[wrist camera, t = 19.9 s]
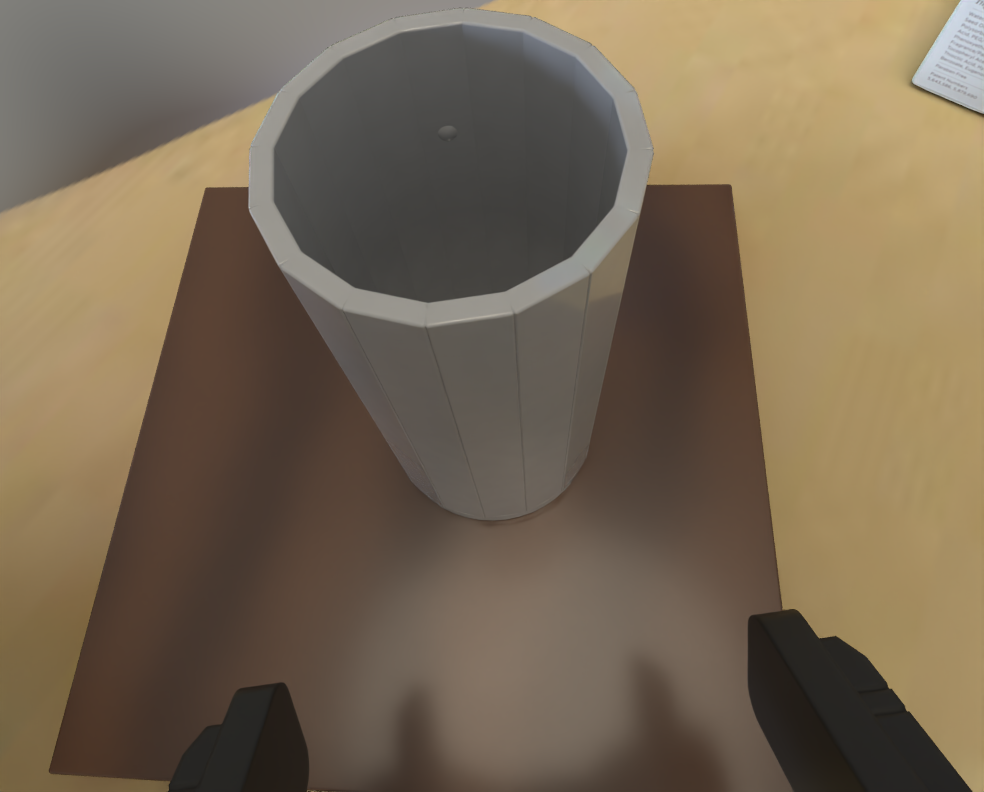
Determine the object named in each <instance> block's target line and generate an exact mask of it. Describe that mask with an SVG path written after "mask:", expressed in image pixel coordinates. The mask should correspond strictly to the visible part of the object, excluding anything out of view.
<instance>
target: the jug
mask: <svg viewBox="0 0 984 792" xmlns="http://www.w3.org/2000/svg"><path fill="white" fill-rule="evenodd" d="M653 149H654V148H653V145H652V141H651V138H650V134H649V131H648V128H647V124H646V121H645V118H644V114H643V111H642V108H641V104H640V101H639V97H638V94H637V92H636V91H635V88H634V87H633V86H632V85H631V84H630V83H629V82H628V81H627V80H626V79H625V78H624V77H623V76H622V75H621V74H620V72H619V71H618V70H617V69H616V68H615V67H614V66H613V65H612V64H611V63H610V62H609V61H608V60H607V59H606V58H605V57H604V55H603V54H602V53H601V52H600V51H599V50H598V49H597V48H596V47H595V46H592V44H591V43H589V42H587V41H585V40H583V39H580V38H578V37H576V36H574V35H572V34H570V33H568V32H565V31H563V30H561V29H559V28H557V27H555V26H553V25H550V24H548V23H546V22H544V21H542V20H540V19H538V18H536V17H533V18H532V17H531V16H527V15H519V14H511V13H504V12H496V11H488V10H480V9H473V8H464V9H463V8H457V9H449V10H442V11H435V12H429V13H422V14H415V15H408V16H401V17H396V18H394V19H389V20H387V21H385V22H382V23H380V24H378V25H376V26H373V27H371V28H369V29H367V30H364V31H363V32H360V33H358V34H355V35H354V36H351V37H349V38H347V39H344V40H342V41H340V42H337V43H335V44H333V45H331V47H328V48H327V49H325V50H324V51H323V52H322V53H321V54H320V55H319V56H318V57H316V58H315V59H314V60H313V61H312V62H311V63H310V64H308V66H306V67H305V68H304V69H303V70H302V71H300V72H299V73H298V74H297V75H296V76H295V77H294V78H293V79H291V80H290V81H289V82H288V83H287V84H286V85H285V86H283V87H282V88H281V90H280V92H278V93H277V95H276V97H275V99H274V101H273V103H272V105H271V107H270V109H269V111H268V113H267V114H266V116H265V118H264V120H263V122H262V124H261V126H260V128H259V130H258V132H257V134H256V136H255V137H254V139H253V141H252V143H251V148H250V156H249V201H248V208H249V212H250V214H251V216H252V218H253V220H254V222H255V224H256V226H257V227H258V229H259V231H260V233H261V235H262V237H263V239H264V241H265V242H266V244H267V246H268V248H269V250H270V252H271V254H272V256H273V257H274V259H275V261H276V263H277V265H278V267H279V268H280V270H281V272H282V273H283V275H284V276H285V278H286V280H287V281H288V283H289V285H290V286H291V288H292V289H293V291H294V293H295V294H296V296H297V297H298V299H299V301H300V302H301V304H302V306H303V307H304V309H305V310H306V312H307V314H308V315H309V317H310V318H311V320H312V322H313V323H314V325H315V327H316V328H317V330H318V331H319V333H320V335H321V336H322V338H323V339H324V341H325V343H326V344H327V346H328V348H329V349H330V351H331V352H332V354H333V356H334V357H335V359H336V361H337V362H338V364H339V365H340V367H341V369H342V370H343V372H344V373H345V375H346V377H347V378H348V380H349V382H350V383H351V385H352V386H353V388H354V390H355V391H356V393H357V394H358V396H359V398H360V399H361V401H362V403H363V404H364V406H365V407H366V409H367V411H368V412H369V414H370V415H371V417H372V419H373V420H374V422H375V424H376V425H377V427H378V428H379V430H380V432H381V433H382V435H383V436H384V438H385V440H386V441H387V443H388V445H389V446H390V448H391V449H392V451H393V453H394V454H395V456H396V457H397V459H398V461H399V462H400V464H401V466H402V467H403V469H404V470H405V472H406V474H407V475H408V477H409V479H410V480H411V482H412V483H413V484H414V485H415V486H416V487H418V489H419V490H420V491H421V492H422V493H423V494H424V495H425V496H427V497H428V498H429V499H430V500H431V501H433V502H434V503H436V504H437V505H439V506H440V507H442V508H444V509H446V510H448V511H450V512H452V513H454V514H457V515H460V516H463V517H467V518H472V519H477V520H491V521H494V520H507V519H511V518H516V517H520V516H523V515H526V514H529V513H532V512H534V511H536V510H538V509H540V508H542V507H544V506H545V505H547V504H548V503H550V502H551V501H553V500H554V499H556V498H557V497H558V496H559V495H560V494H561V493H562V492H563V491H565V490H566V488H567V487H568V486H569V485H570V484H571V482H572V481H573V480H574V479H575V477H576V475H577V474H578V472H579V471H580V469H581V467H582V465H583V463H584V461H585V460H586V457H587V453H588V449H589V445H590V440H591V436H592V431H593V427H594V422H595V418H596V413H597V409H598V404H599V400H600V395H601V391H602V386H603V382H604V377H605V372H606V368H607V363H608V359H609V354H610V350H611V345H612V341H613V336H614V332H615V327H616V323H617V318H618V314H619V309H620V305H621V300H622V296H623V291H624V286H625V282H626V277H627V273H628V268H629V264H630V259H631V255H632V250H633V246H634V241H635V237H636V232H637V228H638V223H639V219H640V214H641V210H642V205H643V201H644V196H645V191H646V187H647V182H648V178H649V173H650V169H651V164H652V160H653V155H654V152H653Z"/></svg>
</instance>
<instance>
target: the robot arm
mask: <svg viewBox="0 0 984 792" xmlns="http://www.w3.org/2000/svg"><path fill="white" fill-rule="evenodd" d="M748 690H749V696H750V700H751V704H752V707H753V711H754V713H755V716H756V719H757V721H758V723H759V725H760V727H761V729H762V731H763V733H764V735H765V737H766V739H767V741H768V743H769V745H770V747H771V748H772V750H773V752H774V754H775V756H776V758H777V760H778V762H779V764H780V766H781V768H782V770H783V772H784V774H785V776H786V778H787V780H788V782H789V783H790V785H791V787H792V789H793V791H794V792H972V790H971V789H970V788H969V787H968V785H967V784H966V783H965V781H964V780H963V779H962V778H961V776H960V775H959V774H958V773H957V771H956V770H955V769H954V767H953V766H952V765H951V764H950V762H949V761H948V760H947V759H946V757H945V756H944V755H943V754H942V752H941V751H940V750H939V748H938V747H937V746H936V745H935V743H934V742H933V741H932V740H931V738H930V737H929V736H928V735H927V733H926V732H925V731H924V729H923V728H922V727H921V726H920V724H919V723H918V722H917V721H916V719H915V718H914V717H913V715H912V714H911V713H910V712H909V711H908V712H907V711H906V709H905V705H904V704H903V703H902V702H901V700H900V699H899V698H898V696H897V695H896V694H895V693H894V691H893V690H892V689H889V688H888V685H887V682H886V681H885V680H884V679H883V677H882V676H881V675H880V674H879V672H878V671H877V670H876V669H875V667H874V666H873V665H872V663H871V662H870V661H869V660H868V658H867V657H866V656H864V655H863V654H861V653H860V652H858V651H857V650H856V649H854V648H853V647H851V646H850V645H848V644H847V643H845V642H844V641H842V640H841V639H840V638H838V637H837V636H834V637H827V638H820V639H819V638H818V637H817V635H816V634H815V633H814V631H813V630H812V628H811V627H810V626H809V624H808V623H807V621H806V620H805V619H804V617H803V616H802V615H801V614H800V613H799V612H798V611H797V610H795V609H790V610H784V611H777V612H770V613H763V614H756V615H751V616H750V617H749V619H748ZM308 780H309V755H308V749H307V744H306V741H305V738H304V735H303V732H302V729H301V726H300V723H299V720H298V717H297V714H296V711H295V708H294V705H293V701H292V698H291V695H290V692H289V690H288V687H287V686H286V684H285V683H283V682H280V683H273V684H266V685H259V686H253V687H246V688H240V689H238V690H237V691H236V692H235V694H234V696H233V698H232V700H231V703H230V705H229V708H228V710H227V713H226V715H225V718H224V720H223V723H222V724H218V725H212V726H206V728H205V729H204V730H203V731H202V732H201V734H200V735H199V736H198V737H197V738H196V739H195V741H194V742H193V743H192V744H191V745H190V747H189V748H188V749H187V750H186V751H185V752H184V754H183V755H182V757H181V759H180V762H179V764H178V766H177V768H176V771H175V773H174V775H173V777H172V780H171V782H170V784H169V791H168V792H306V791H307V786H308Z"/></svg>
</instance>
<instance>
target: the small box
mask: <svg viewBox="0 0 984 792" xmlns="http://www.w3.org/2000/svg"><path fill="white" fill-rule="evenodd" d="M912 82H913V84H915V85H917V86H919V87H921V88H923V89H925V90H928V91H930V92H932V93H934V94H937V95H939V96H941V97H944V98H946V99H948V100H951V101H954V102H955V103H958V104H960V105H963V106H965V107H967V108H970V109H972V110H974V111H977V112H980V113H982V114H984V0H961V1H960V2H959V4H958V6H957V7H956V9H955V10H954V12H953V14H952V15H951V17H950V18H949V20H948V21H947V23H946V25H945V26H944V28H943V30H942V31H941V33H940V34H939V36H938V38H937V39H936V41H935V42H934V44H933V46H932V47H931V49H930V51H929V52H928V54H927V55H926V57H925V59H924V60H923V62H922V63H921V65H920V67H919V68H918V70H917V72H916V73H915V75H914V77H913V79H912Z"/></svg>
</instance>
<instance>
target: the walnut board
mask: <svg viewBox="0 0 984 792" xmlns="http://www.w3.org/2000/svg"><path fill="white" fill-rule="evenodd" d="M248 201H249V187H222V188H206V189H205V192H204V196H203V199H202V203H201V207H200V210H199V214H198V218H197V222H196V225H195V229H194V233H193V236H192V240H191V244H190V248H189V251H188V255H187V259H186V263H185V266H184V270H183V274H182V277H181V281H180V285H179V289H178V292H177V296H176V300H175V303H174V307H173V311H172V315H171V318H170V322H169V326H168V329H167V333H166V337H165V341H164V344H163V348H162V352H161V355H160V359H159V363H158V367H157V370H156V374H155V378H154V382H153V385H152V389H151V393H150V396H149V400H148V404H147V408H146V411H145V415H144V419H143V422H142V426H141V430H140V434H139V437H138V441H137V445H136V448H135V452H134V456H133V460H132V463H131V467H130V471H129V475H128V478H127V482H126V486H125V489H124V493H123V497H122V501H121V504H120V508H119V512H118V515H117V519H116V523H115V527H114V530H113V534H112V538H111V541H110V545H109V549H108V553H107V556H106V560H105V564H104V568H103V571H102V575H101V579H100V582H99V586H98V590H97V594H96V597H95V601H94V605H93V608H92V612H91V616H90V620H89V623H88V627H87V631H86V634H85V638H84V642H83V646H82V649H81V653H80V657H79V660H78V664H77V668H76V672H75V675H74V679H73V683H72V687H71V690H70V694H69V698H68V701H67V705H66V709H65V713H64V716H63V720H62V724H61V727H60V731H59V735H58V739H57V742H56V746H55V750H54V753H53V757H52V761H51V765H50V768H49V773H51V774H61V775H77V776H93V777H109V778H125V779H141V780H157V781H171V780H172V777H173V775H174V773H175V771H176V768H177V766H178V764H179V762H180V759H181V757H182V755H183V754H184V752H185V751H186V750H187V749H188V748H189V747H190V745H191V744H192V743H193V742H194V741H195V739H196V738H197V737H198V736H199V735H200V734H201V732H202V731H203V730H204V729H205V728H206V726H212V725H218V724H222V723H223V720H224V718H225V715H226V713H227V710H228V708H229V705H230V703H231V700H232V698H233V696H234V694H235V692H236V691H237V690H238V689H240V688H246V687H253V686H259V685H266V684H273V683H280V682H283V683H285V684H286V686H287V687H288V690H289V692H290V695H291V698H292V701H293V705H294V708H295V711H296V714H297V717H298V720H299V723H300V726H301V729H302V732H303V735H304V738H305V741H306V744H307V749H308V755H309V780H308V786H307V790H317V791H333V792H794V791H793V789H792V787H791V785H790V783H789V782H788V780H787V778H786V776H785V774H784V772H783V770H782V768H781V766H780V764H779V762H778V760H777V758H776V756H775V754H774V752H773V750H772V748H771V747H770V745H769V743H768V741H767V739H766V737H765V735H764V733H763V731H762V729H761V727H760V725H759V723H758V721H757V719H756V716H755V713H754V711H753V707H752V704H751V700H750V696H749V690H748V619H749V617H750V616H751V615H756V614H763V613H770V612H777V611H783V610H782V601H781V593H780V585H779V577H778V568H777V560H776V552H775V543H774V535H773V527H772V518H771V510H770V502H769V494H768V485H767V477H766V469H765V460H764V452H763V444H762V436H761V427H760V419H759V411H758V402H757V394H756V386H755V377H754V369H753V361H752V353H751V344H750V336H749V328H748V319H747V311H746V303H745V294H744V286H743V278H742V270H741V261H740V253H739V245H738V236H737V228H736V220H735V212H734V203H733V195H732V187H731V185H730V184H722V185H647V187H646V191H645V196H644V201H643V205H642V210H641V214H640V219H639V223H638V228H637V232H636V237H635V241H634V246H633V250H632V255H631V259H630V264H629V268H628V273H627V277H626V282H625V286H624V291H623V296H622V300H621V305H620V309H619V314H618V318H617V323H616V327H615V332H614V336H613V341H612V345H611V350H610V354H609V359H608V363H607V368H606V372H605V377H604V382H603V386H602V391H601V395H600V400H599V404H598V409H597V413H596V418H595V422H594V427H593V431H592V436H591V440H590V445H589V449H588V453H587V457H586V460H585V461H584V463H583V465H582V467H581V469H580V471H579V472H578V474H577V475H576V477H575V479H574V480H573V481H572V482H571V484H570V485H569V486H568V487H567V488H566V490H565V491H563V492H562V493H561V494H560V495H559V496H558V497H557V498H556V499H554V500H553V501H551V502H550V503H548V504H547V505H545V506H544V507H542V508H540V509H538V510H536V511H534V512H532V513H529V514H526V515H523V516H520V517H516V518H511V519H507V520H494V521H491V520H477V519H472V518H467V517H463V516H460V515H457V514H454V513H452V512H450V511H448V510H446V509H444V508H442V507H440V506H439V505H437V504H436V503H434V502H433V501H431V500H430V499H429V498H428V497H427V496H425V495H424V494H423V493H422V492H421V491H420V490H419V489H418V487H416V486H415V485H414V484H413V483H412V482H411V480H410V479H409V477H408V475H407V474H406V472H405V470H404V469H403V467H402V466H401V464H400V462H399V461H398V459H397V457H396V456H395V454H394V453H393V451H392V449H391V448H390V446H389V445H388V443H387V441H386V440H385V438H384V436H383V435H382V433H381V432H380V430H379V428H378V427H377V425H376V424H375V422H374V420H373V419H372V417H371V415H370V414H369V412H368V411H367V409H366V407H365V406H364V404H363V403H362V401H361V399H360V398H359V396H358V394H357V393H356V391H355V390H354V388H353V386H352V385H351V383H350V382H349V380H348V378H347V377H346V375H345V373H344V372H343V370H342V369H341V367H340V365H339V364H338V362H337V361H336V359H335V357H334V356H333V354H332V352H331V351H330V349H329V348H328V346H327V344H326V343H325V341H324V339H323V338H322V336H321V335H320V333H319V331H318V330H317V328H316V327H315V325H314V323H313V322H312V320H311V318H310V317H309V315H308V314H307V312H306V310H305V309H304V307H303V306H302V304H301V302H300V301H299V299H298V297H297V296H296V294H295V293H294V291H293V289H292V288H291V286H290V285H289V283H288V281H287V280H286V278H285V276H284V275H283V273H282V272H281V270H280V268H279V267H278V265H277V263H276V261H275V259H274V257H273V256H272V254H271V252H270V250H269V248H268V246H267V244H266V242H265V241H264V239H263V237H262V235H261V233H260V231H259V229H258V227H257V226H256V224H255V222H254V220H253V218H252V216H251V214H250V212H249V208H248Z"/></svg>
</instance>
